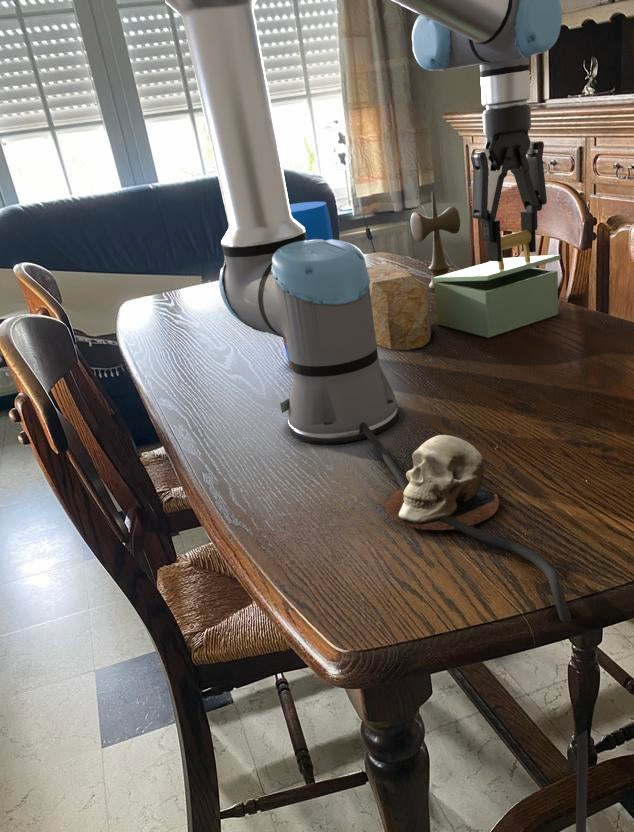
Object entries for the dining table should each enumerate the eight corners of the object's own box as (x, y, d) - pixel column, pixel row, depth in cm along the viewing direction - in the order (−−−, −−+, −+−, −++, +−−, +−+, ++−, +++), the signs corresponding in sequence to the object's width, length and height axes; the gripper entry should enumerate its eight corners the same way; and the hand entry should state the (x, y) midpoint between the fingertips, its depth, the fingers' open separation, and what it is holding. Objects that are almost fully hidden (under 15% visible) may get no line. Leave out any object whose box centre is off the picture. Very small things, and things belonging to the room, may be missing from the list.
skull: (443, 544, 71) (387, 453, 72) (402, 572, 80) (353, 491, 81) (530, 493, 76) (477, 410, 78) (483, 525, 85) (436, 450, 87)
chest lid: (560, 259, 131) (557, 223, 128) (487, 280, 124) (482, 242, 121) (503, 262, 143) (499, 229, 141) (433, 281, 136) (428, 247, 134)
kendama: (415, 291, 165) (405, 194, 155) (454, 282, 168) (447, 186, 158) (427, 295, 160) (417, 196, 150) (466, 286, 163) (460, 188, 153)
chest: (558, 314, 136) (557, 270, 132) (488, 338, 129) (485, 292, 125) (504, 303, 147) (502, 262, 143) (437, 324, 140) (433, 282, 136)
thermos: (293, 377, 123) (263, 217, 111) (284, 359, 132) (255, 209, 120) (357, 364, 125) (334, 205, 113) (343, 347, 134) (320, 199, 122)
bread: (445, 341, 130) (441, 283, 125) (385, 354, 128) (378, 295, 123) (387, 300, 161) (382, 252, 156) (338, 310, 159) (331, 261, 154)
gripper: (536, 100, 125) (539, 243, 136) (441, 115, 116) (452, 266, 127) (569, 96, 119) (569, 246, 130) (471, 112, 111) (480, 270, 122)
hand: (512, 255), depth 129 cm, fingers closed on chest lid, 7 cm apart
